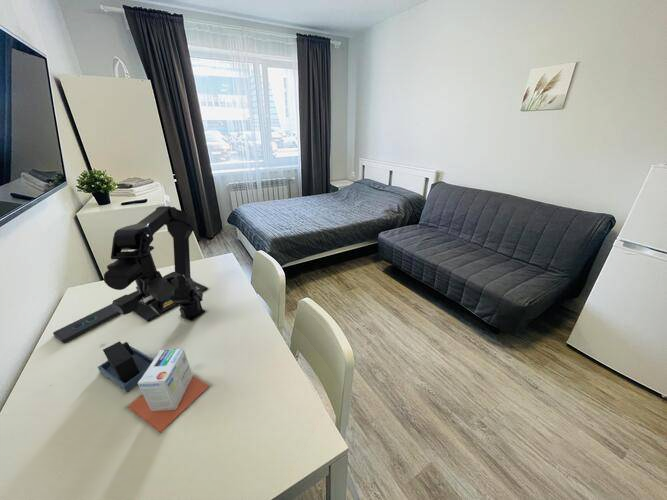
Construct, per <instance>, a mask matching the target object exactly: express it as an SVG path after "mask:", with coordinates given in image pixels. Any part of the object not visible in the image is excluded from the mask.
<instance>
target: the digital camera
mask: <svg viewBox="0 0 667 500" xmlns="http://www.w3.org/2000/svg"><path fill="white" fill-rule="evenodd" d="M130 346H131V345H130V344H129V342H128V341H125V342H123V343H122V342H121V341H117V342H115V343H113V344H111V345H109V346H107V347H105V348H103V349H102V352H103V353H104V355H105V357H106V359H107V361H109V363H110V365H111V367H112V368H113V370H114V371H115V372H116V374H117V375H118V377H119V378H120V380H121V381H122V382H123V383H127V382H128V381H129V380H131V379H132V378H134V377H135V376H136V375H138V374H139V373H140V372H139V370H138V368H137V366H136V363H135V361H134V359H133V357H132V355H133V354H134V353H133V351H132V349H131V347H132V346H131V347H130Z"/></svg>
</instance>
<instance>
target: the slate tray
mask: <svg viewBox="0 0 667 500" xmlns="http://www.w3.org/2000/svg"><path fill="white" fill-rule="evenodd" d="M129 346H130V347H131V349H132V351H133V353H134V354H133V355H132V357H133V359H134V361H135V363H136V366H137V368H138V370H139V372H140V373H139V374H138V375H136V376H135V377H134V378H132V379H131V380H129V381H128V382H127V383H123V382H122V381H121V380H120V378H119V377H118V375H117V374H116V372H115V371H114V370H113V368H112V367H111V365H110V363H109V361H108V360H106V361H105V362H103V363H101V364H100V365H98V366H97V369H98V371H99V373H100V374H101V375H103V376H104V377H106V378H107V379H108V380H109V381H111V382H112V383H114V384H115V385H116V386H118V387H119V388H120V389H122V390H124V391H125V392H126V393H128V392H129V391H131V390H132V389H133V388H134V387H136V386H138V382H139V380H140V379H141V378H142V376H143V375H144V373H145V372H146V370H147V369H148V368H149V366H150V365H151V363H152V362H153V360H154V358H152V357H150V356H149V355H147V354H145V353H144V352H142V351H140V350H138V349H137V348H135V347H133V346H132V345H129Z"/></svg>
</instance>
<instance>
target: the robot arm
mask: <svg viewBox="0 0 667 500" xmlns="http://www.w3.org/2000/svg"><path fill="white" fill-rule="evenodd" d="M194 225H195V219H194V217H193V216H192V215H191V214H190V213H188V212H187V211H184V210H181V209H178V208H176V207H175V206H172V205H162V206H160V205H159V206H158V207H156V208H155V210H154V211H152V212H151V213H150V214H148V215H147V216H145V217H144V218H143V219H141V220H140V221H139V222H136V223H134V224H130V225H126V226H124V227H120V228H119V229H117V230H116V231H115V232H114V233H113V238H112V246H111V251H110V260H115V261H113V262H111V263H108V265H107V266H106V269H107V270H106V271H105V272H104V274H103V282H104V283H105V284H106V286H108V287H109V288H111V289H113V290H116V291H122V290H125V289H127V288H128V287H129V286H130V285H132V284H133V283H134V282H135V284H136V286H135V290H136V291H137V290H138V291H139V292H140V293H138V294H136V295H134V296H132V297H131V296H129V295H128V294H123V295H122V296H119V297H118V298H116V299H114V300H112V302H111V304H112V307H113V309H114V310H116V311H118V312H120V313H122V314H121V315H123V316H125V315H129V314H130V313H132V312H133V311H134V310H136V309H137V308H138V307H139V303H138V302H140V303H142V304H144V305H149V306H150V307H151V308H152V309H153V310H154V311H155V312H156V313H158V314H159V315H160V316H162V315H163V314H164V313H163V306H164V300H165V299H166V298H168V297H170V299H171V300H172V302H173V303H174V304H175V305H178V304H179V305H178V306H179V313H180V314H179V315H180V317H181V318H182V319H185V320H188V321H190V322H192V321H194V320H196V319H197V318H198V317H200V316H201V315H203V314H204V313H206V309H203V306H202V302H203V300H204V299H203V297H204V294H203V292H202V291H199V290H197V289H196V284H195V282H196V281H195V280H193V278H192V277H191V258H190V257H191V256H190V255H191V254H190V237H191V235H192V234H193V233H194ZM164 226H166V228H167V230H166V231H167V232H168V233H169V235H170V236H171V237H172V241H173V242H172V243H173V260H174V261H173V265H174V271H172V272H169V273H167V274H165V275H163V276H162V273H161V272H160V271H159V270H158V269H157V266H156V264H155V261H154V258H153V254H152V253H151V252H152V251H153V250H155V246H153V245H151V244H152V242H153V241H154V235H155V234H156V233H157V232H158V231H159V230H160V229H162V228H163V227H164ZM161 314H162V315H161Z"/></svg>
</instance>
